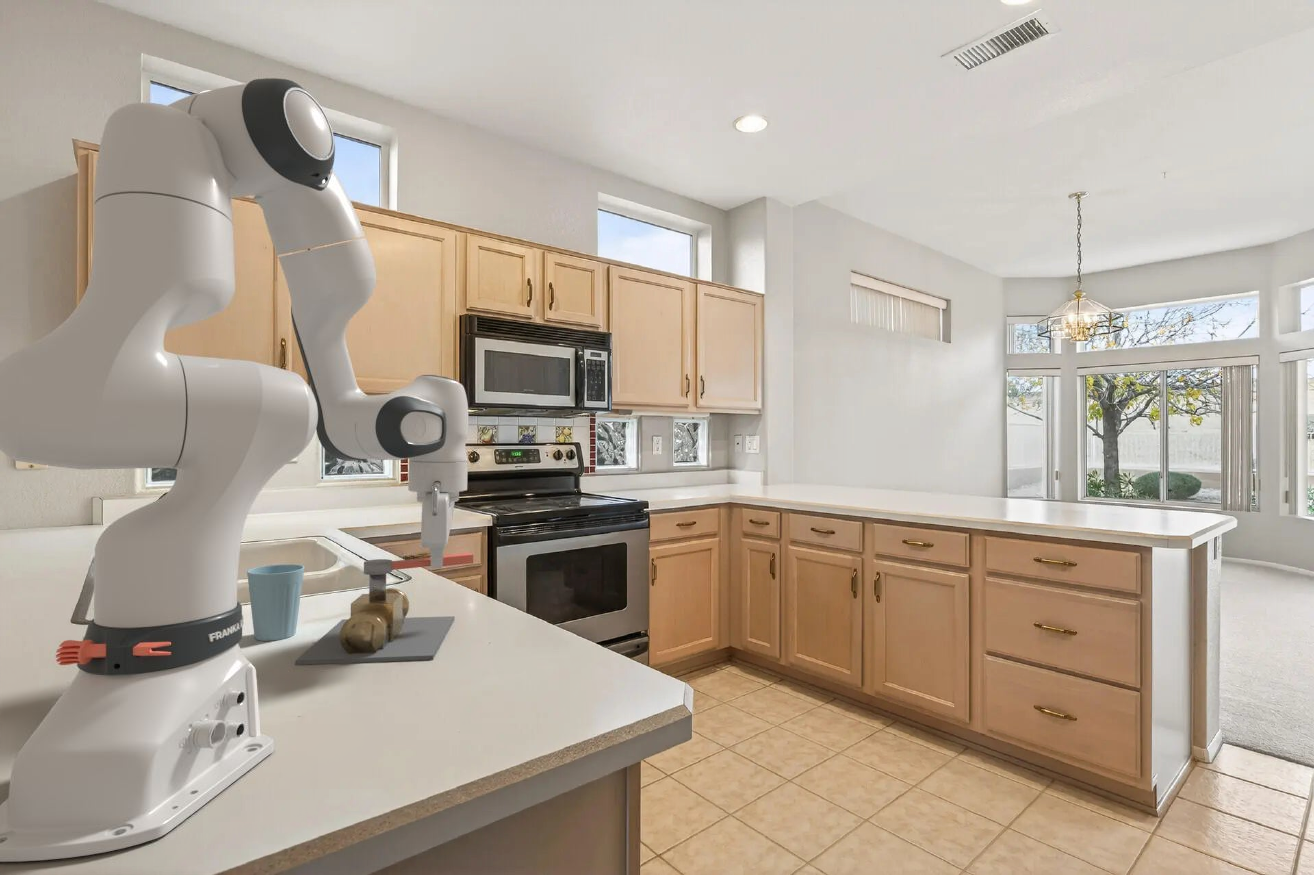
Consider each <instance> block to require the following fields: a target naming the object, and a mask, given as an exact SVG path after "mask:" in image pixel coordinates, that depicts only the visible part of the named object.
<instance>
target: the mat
mask: <svg viewBox="0 0 1314 875" xmlns="http://www.w3.org/2000/svg"><path fill="white" fill-rule="evenodd" d="M348 619H349V618H347V619H346V618H345V619H341V620H340V621H339V622H338V623H337V624H335V625H334V626H333V627H332V628H331V629H329V631H328V632H327V633H325V634H324V635H323V636H322V637H320V638H319V639H318V640H317V641H316V642H315V643H314V644H313V645H311V646H310V647H309V648H308V649H307V650H306V651H304V652H303V653H302V654H301V655H300V656H299V657H297V659H295V663H294V664H295V665H296V666H297V665H298V666H299V665H323V664H326V665H327V664H348V663H349V664H350V663H351V664H352V663H353V664H354V663H379V662H402V661H403V662H404V661H405V662H406V661H426V660H427V661H431V660H434V659H435V657H436V655H437V653H438V652H439V649H440V648H441V645H442V643H443V642H444V640H445V638H446V636H447V635H448V632H449V631H450V629H451V627H452V626H453V623H454V622H455V616H426V617H425V616H422V617H419V616H418V617H417V616H416V617H405V618H404V624H403V625H402V631H401V632H400V633H399V634H398V636H397V637H396V638H395V639H394V641H393V642H389V643H388V644H387V645H386V646H385V648H384V649H378V650H377V651H376V652H375V653H357V654H349V653H348V652H346V651H345V650H344V648H343V647H342V645H341V643H340V630H341V628H342V626H343V624H344V623H345V622H346V621H347V620H348Z"/></svg>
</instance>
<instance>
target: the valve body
mask: <svg viewBox="0 0 1314 875" xmlns="http://www.w3.org/2000/svg"><path fill="white" fill-rule="evenodd" d="M368 579H369V580H368V582H369V583H368V586H369V587H368V588H369V589H368V593H362V594H361V595H359V597H357V598H356V599H355V600H354V601H352V602H351V603H350V617H349V618H347V619H348V620H347V621H346V622H345V623H344V624H343V626H342V628H341V630H340V643H341V645H342V647H343V648H344V650H345V651H346V652H348V653H349V654H357V653H375V652H376V651H377V650H378V649H384V648H385V646H386V645H387V644H388V643H389V642H393V641H394V639H395V638H396V637H397V636H398V634H399V633H400V632H401V631H402V625H403V624H404V618H406V616H407V614H409V609H410V602H409V598H408V596H407V594H405V593H404V592H403V591H402V590H400V589H397V588H394V587H389V588H387V574H381V575H368Z"/></svg>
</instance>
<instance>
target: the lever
mask: <svg viewBox="0 0 1314 875" xmlns="http://www.w3.org/2000/svg"><path fill="white" fill-rule="evenodd" d="M468 564H474V554H472V553H470V552H458V553H449V554H443V566H442V567H449V566H461V565H468ZM424 567H425V568H426V567H431V557H423V558H422V557H421V558H412V559H411V558H410V559H399V560H391V559H386V558H383V559H382V558H381V559H380V558H379V559H378V558H377V559H370V560H365V561H364V562H363V575H368V576H369V575H381V574H386V575H388V574H390V573H392V572H393V571H395V570H397V571H398V570H404V569H416V568H424Z"/></svg>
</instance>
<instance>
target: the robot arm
mask: <svg viewBox="0 0 1314 875" xmlns="http://www.w3.org/2000/svg"><path fill="white" fill-rule="evenodd" d="M330 122H331V121H330V120H329V118H328V116H327V114H326V112H325V110H324V109H323V107H322V106H321V104H320V103H319V102H318V101H317V99H315V97H314V96H313V95H311V94H310V92H308V90H305V88H303V87H302V86H301V85H300V84H298V83H297V82H295V81H293V80H290V79H285V78H278V77H277V78H274V77H273V78H272V77H271V78H268V77H267V78H266V77H265V78H257V79H256V78H255V79H252V80H250V81H249V82H248V83H243V84H236V85H229V86H223V87H219V88H216V89H206V90H203V91H202V90H201V91H199V92H196V93H194V94H190V95H188V96H185V97H183V98H181V99H178V100H176V101H174V102H172V103H170V104H168V105H166V104H162V103H154V102H134V103H130V104H126V105H124V106H121V107H120V108H118V109H116V110H115V111H114V112H112V113H111V115H110V116H109V117H108V119H107V121H106V123H105V125H104V130H103V133H102V137H101V141H100V145H99V149H98V150H99V151H98V155H97V159H96V167H95V178H94V188H93V190H94V191H93V246H92V247H93V249H92V250H93V251H92V260H91V268H90V276H89V281H88V283H87V284H88V285H87V287H86V289H85V292H84V293H83V296H82V298H81V299H80V301H79V303H78V304H77V306H76V308H75V309H73V312H72V313H71V314H70V316H69V317H67V319H66V320H64V322H62V323H60V325H59V326H58V327H56V328H55V329H54V330H53V331H51V332H49V333H47V335H45V336H44V337H42V338H40V339H38V340H36V341H35V342H32V343H31V344H28V345H25V346H24V347H22V348H18V349H16V350H15V351H13V352H12V353H9V354H7V356H5V357H4V358H2V359H1V360H0V451H1V452H2V453H3V454H4V455H5V456H7V457H8V458H10V459H12V460H14V461H15V462H21V463H29V464H35V465H43V466H49V467H57V468H66V469H73V470H74V469H75V470H120V469H121V470H122V469H124V470H125V469H129V470H130V469H172V470H173V469H174V470H177V471H176V477H175V480H174V482H173V485H172V486H171V488H170V489H169V490H168V491H167V493H166V494H165V495H164V496H163V497H160V498H159V499H157V500H155V501H153V502H151V503H148V504H146V505H144V506H141V507H139V508H137V509H135V510H133V511H130V512H128V513H126V514H124V515H123V516H121V517H119V518H117V520H115V521H113V522H112V523H110V525H109V526H107V528H105V529H104V530H103V531H102V533H101V534H100V535H99V537H98V539H97V541H96V544H95V546H94V576H93V577H94V578H93V580H94V583H93V584H94V587H93V588H94V589H93V618H92V619H91V620H90V622H88V624H87V628H86V631H85V634H84V636H83V637H82V641H81V640H74V639H67V640H64V641H63V642H61V643H60V644H59V646H58V649H56V653H57V654H55V658H56V660H55V661H56V663H58V665H60V666H68V665H69V666H70V665H74V664H76V666H77V668H78V669H79V670H78V672H77V674H76V675H75V676H74V678H73V680H71V683H70V684H69V686H67V688H66V689H65V691H64V692H63V693H62V694H61V696H60V697H59V698H58V700H57V701H56V703H54V705H53V706H52V708H51V709H50V710H49V712H48V713H47V714H46V716H45V717H44V718H43V719H42V721H41V722H40V723H39V725H38V726H37V728H36V729H35V730H34V731H33V733H32V735H30V737H29V738H28V739H27V740H26V742H25V743H24V745H23V746H22V747H21V748H20V749H19V750H18V752H17V754H16V756H15V759H14V761H13V765H12V767H11V773H10V779H9V786H8V787H9V789H8V797H7V798H6V799H5V801H3V802H2V803H1V804H0V862H8V863H9V862H30V861H31V862H33V861H34V862H35V861H48V860H49V861H50V860H59V859H68V858H76V857H83V856H90V855H95V854H101V853H107V852H112V851H115V850H116V851H117V850H122V849H125V848H129V847H132V846H136V845H140V844H143V843H146V842H150V841H153V840H156V839H158V838H161V837H163V836H164V835H167V833H170V831H172V830H173V829H175V827H177V826H179V824H181V823H183V822H184V821H185V820H186V819H188V818H189V817H190V816H191V815H193V814H194V813H195V812H196V811H198V810H199V809H200V808H202V807H203V806H204V805H206V804H207V803H208V802H210V801H211V800H212V799H214V798H215V797H216V796H218V795H219V794H221V793H222V791H224V790H225V789H226V788H228V787H229V786H230V785H232V784H233V783H234V782H236V781H237V780H238V779H240V778H241V777H242V776H243V775H245V774H246V773H247V772H248V771H250V770H251V769H253V767H255V766H257V765H258V764H259V763H261V762H262V761H263V760H264V759H266V758H267V757H268V756H269V755H271V754H272V753H273V752H274V751H275V743H274V738H273V737H271V736H269V735H267V734H263V733H261V725H260V724H261V723H260V710H259V697H258V696H259V695H258V680H257V679H258V678H257V670H256V667H255V666H254V665H253V663H252V662H251V661H249V659H247V657H246V656H245V655H244V653H243V651H242V649H241V647H240V644H239V642H240V641H242V639H243V626H244V615H243V606H242V604H241V603H240V602H239V601H238V583H239V581H238V579H239V566H240V565H239V564H240V552H241V543H242V538H243V536H242V535H243V530H244V526H245V522H246V521H247V517H248V515H249V513H250V510H251V508H252V506H253V504H254V503H255V500H256V498H257V497H258V495H259V494H260V492H261V491H262V490H263V488H264V486H265V485H266V484H267V483H268V482H269V481H270V480H271V478H272V477H273V476H274V475H275V474H277V472H278V471H279V470H280V469H282V468H283V467H284V466H286V465H287V464H288V463H290V462H291V461H293V460H294V459H296V458H297V457H299V456H300V454H302V453H303V451H305V449H306V448H308V446H309V444H310V443H311V441H312V440H313V438H314V436H315V434H316V435H317V438H318V441H319V443H320V444H321V447H322V448H323V449H324V450H325V451H326V452H327V453H328V454H329V455H331V456H332V457H333V458H335V459H337V460H341V461H345V462H352V461H353V462H354V461H364V460H365V461H366V460H373V461H374V460H376V461H387V460H389V461H402V460H408V491H409V492H413V493H416V502H419V503H421V523H420V524H421V528H420V542H421V547H422V548H424V549H425V548H429V553H430V554H429V555H430V557H431V566H430V568H431V569H441V568H443V567H444V566H443V555H444V552H445V547H447V545H448V541H449V537H450V532H451V527H452V523H453V516H454V509H455V504H456V503H455V502H459V501H460V492H465V491H468V471H469V468H468V465H469V463H468V460H469V459H468V454H467V451H466V442H467V439H468V437H469V405H468V404H469V403H468V397H467V393H466V389H465V387H464V385H463V384H462V383H460V381H458V380H455V379H453V378H450V377H447V376H441V375H436V374H435V375H434V374H421V375H418V376H417V377H415V379H414V380H413V381H412V382H411V383H409V384H408V385H406V386H404V387H402V388H400V389H398V390H395V391H391V392H389V393H388V394H377V395H376V394H375V395H368V394H366V393H364V392H363V390H362V389H361V388H360V387H359V384H358V383H357V380H356V375H355V370H354V369H353V368H354V367H353V365H352V360H351V356H350V354H349V352H350V351H349V350H348V345H347V341H346V330H347V327H348V324H349V323H350V321H351V320H352V318H353V317H354V316H355V315H356V314H357V313H358V312H359V311H361V310H362V308H363V307H364V306H365V305H366V304H367V303H368V302H369V300H370V298H371V297H372V295H373V294H374V291H375V289H376V286H377V282H378V281H377V271H376V265H375V259H374V256H373V253H372V250H371V247H370V245H369V242H368V239H367V237H366V234H365V232H364V229H363V227H362V223H361V222H360V219H359V217H358V214H357V211H356V209H355V208H354V205H353V204H352V201H351V199H350V198H349V195H348V194H347V191H346V189H345V188H344V186H343V184H342V183H341V181H340V179H339V177H338V175H337V173H336V172H335V171H334V170H333V169H334V168H333V167H334V162H335V157H336V156H335V154H336V143H335V136H334V131H333V128H332V125H331V123H330ZM250 196H251V197H252V200H254V202H255V203H257V205H258V206H259V207H260V208H261V209H262V212H263V216H264V220H265V224H266V228H267V231H268V234H269V236H270V241H271V242H272V245H273V248H274V251H275V254H276V256H278V257H277V258H278V261H279V264H280V266H281V269H282V271H283V274H284V279H285V280H286V285H287V288H288V293H289V298H290V304H291V305H290V314H291V316H290V317H291V321H292V322H291V323H292V327H293V331H294V334H295V337H296V342H297V344H298V349H299V352H300V355H301V358H302V362H303V365H304V369H305V372H306V375H307V379H308V382H309V384H310V385H309V384H308V383H307V381H306V380H305V379H304V378H303V377H302V376H301V375H300V374H298V373H297V372H294V371H291V370H288V369H284V368H281V367H276V366H272V365H269V364H264V363H261V362H257V361H253V360H245V359H232V358H224V357H222V358H221V357H220V358H219V357H207V356H199V355H188V354H187V355H186V354H176V353H173V352H169V351H167V350H165V345H164V341H165V335H166V333H168V332H170V331H172V330H175V329H178V328H181V327H185V326H189V325H192V324H195V323H200V322H202V321H205V320H207V319H210V318H212V317H215V316H217V315H218V314H220V313H222V312H223V311H224V310H226V309H227V307H229V305H230V304H231V301H233V298H234V296H235V292H236V277H235V276H236V273H235V272H236V271H235V270H236V269H235V248H234V247H235V245H234V244H235V242H234V240H235V239H234V217H233V216H234V215H233V206H232V200H231V199H239V198H245V197H250ZM282 255H283V256H282ZM315 432H316V433H315ZM430 557H429V558H430Z"/></svg>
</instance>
